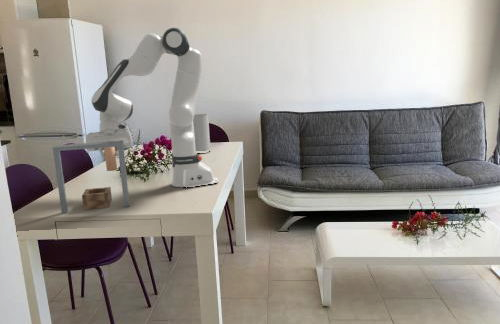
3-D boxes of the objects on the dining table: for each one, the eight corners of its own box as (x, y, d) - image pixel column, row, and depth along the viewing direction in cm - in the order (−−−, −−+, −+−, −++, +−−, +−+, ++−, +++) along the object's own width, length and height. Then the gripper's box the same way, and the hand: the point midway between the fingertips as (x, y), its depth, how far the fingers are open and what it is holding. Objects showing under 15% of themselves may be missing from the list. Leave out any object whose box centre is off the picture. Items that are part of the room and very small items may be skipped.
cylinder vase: (194, 150, 298) (191, 114, 293) (212, 150, 296) (210, 113, 291) (189, 154, 286) (186, 116, 281) (208, 153, 284) (205, 115, 279)
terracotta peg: (117, 168, 196) (114, 142, 194) (116, 170, 192) (113, 143, 190) (107, 169, 196) (104, 143, 193) (106, 171, 191) (102, 144, 189)
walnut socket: (112, 200, 187) (110, 186, 185) (109, 207, 177) (107, 193, 176) (87, 202, 185) (85, 189, 183) (83, 209, 175) (82, 195, 174)
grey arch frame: (130, 202, 182) (123, 140, 176) (129, 206, 177) (122, 142, 171) (64, 209, 177) (55, 145, 172) (61, 213, 172) (52, 147, 166)
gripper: (84, 129, 195) (84, 154, 187) (131, 125, 199) (132, 149, 191) (87, 137, 200) (87, 162, 193) (133, 133, 204) (134, 157, 196)
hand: (110, 156), depth 192 cm, fingers closed on terracotta peg, 4 cm apart
